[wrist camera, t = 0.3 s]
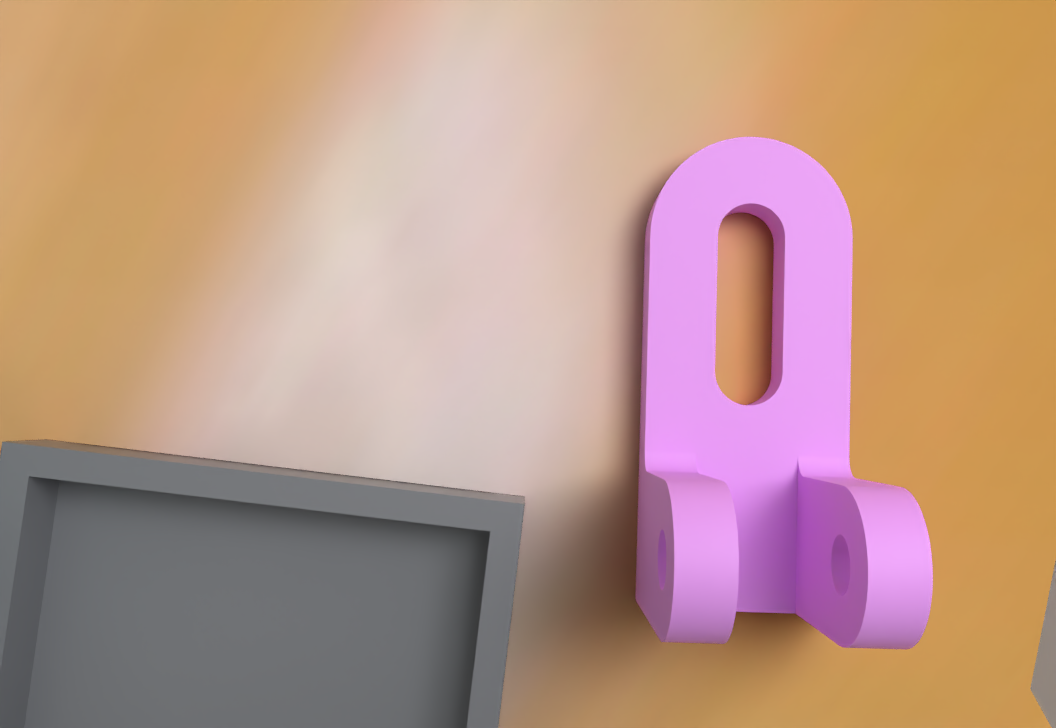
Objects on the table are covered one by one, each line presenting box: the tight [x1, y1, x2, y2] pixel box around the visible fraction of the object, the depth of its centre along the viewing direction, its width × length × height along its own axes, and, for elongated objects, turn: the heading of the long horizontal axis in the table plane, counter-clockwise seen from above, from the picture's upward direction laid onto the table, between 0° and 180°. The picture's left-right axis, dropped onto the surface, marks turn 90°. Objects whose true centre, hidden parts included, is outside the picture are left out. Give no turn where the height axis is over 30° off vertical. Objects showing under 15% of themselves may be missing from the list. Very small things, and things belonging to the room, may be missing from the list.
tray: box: [0, 439, 525, 728], centre depth 27 cm, size 14×14×2 cm
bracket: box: [636, 137, 933, 649], centre depth 25 cm, size 13×6×7 cm, turn 178°
